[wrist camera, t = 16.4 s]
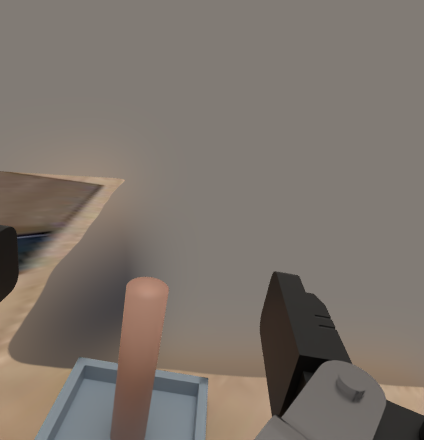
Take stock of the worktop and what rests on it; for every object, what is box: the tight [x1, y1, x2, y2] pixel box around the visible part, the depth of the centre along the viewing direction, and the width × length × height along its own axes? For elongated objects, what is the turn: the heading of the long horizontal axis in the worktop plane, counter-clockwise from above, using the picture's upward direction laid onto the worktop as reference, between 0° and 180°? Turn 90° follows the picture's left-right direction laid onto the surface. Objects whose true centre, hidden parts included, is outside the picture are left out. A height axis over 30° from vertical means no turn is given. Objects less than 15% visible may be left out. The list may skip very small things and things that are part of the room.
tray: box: [34, 357, 208, 440], centre depth 33 cm, size 15×13×3 cm
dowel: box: [110, 277, 169, 440], centre depth 30 cm, size 3×3×17 cm
